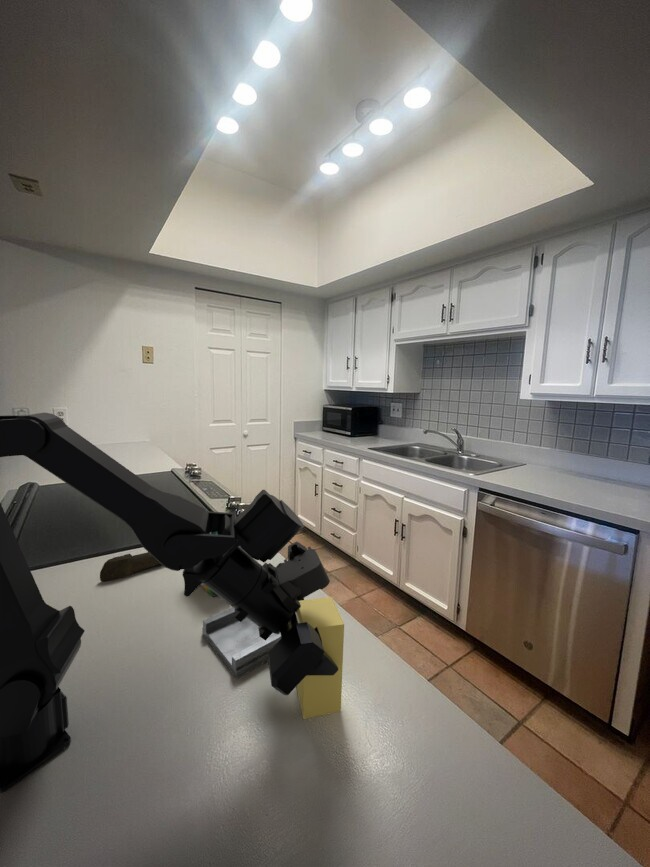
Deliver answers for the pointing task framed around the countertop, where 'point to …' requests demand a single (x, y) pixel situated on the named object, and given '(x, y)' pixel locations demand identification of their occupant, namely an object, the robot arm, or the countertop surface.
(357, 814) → the countertop surface
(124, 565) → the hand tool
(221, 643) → the grey metal tray
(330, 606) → the block
